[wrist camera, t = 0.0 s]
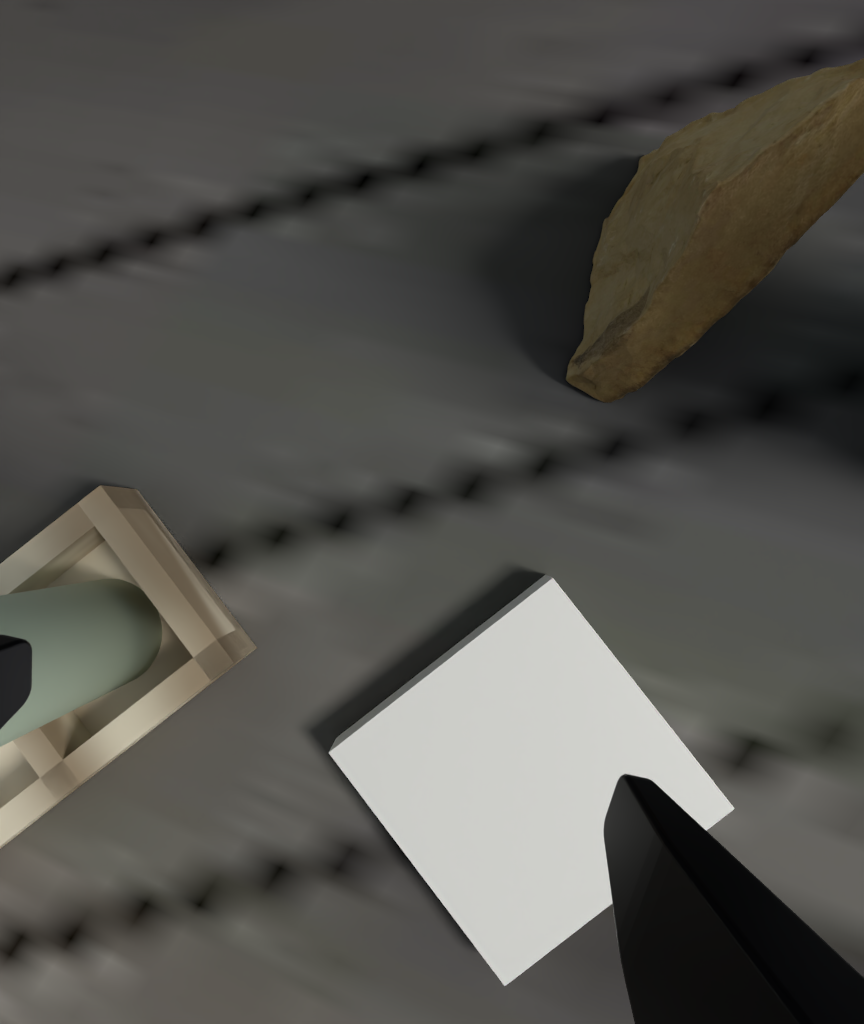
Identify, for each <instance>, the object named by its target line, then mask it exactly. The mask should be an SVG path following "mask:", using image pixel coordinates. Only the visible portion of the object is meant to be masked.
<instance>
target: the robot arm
mask: <svg viewBox="0 0 864 1024" xmlns="http://www.w3.org/2000/svg"><path fill="white" fill-rule="evenodd" d="M31 689H32V647H31V644H30V643H29V642H28V641H27V640H25V639H21V638H17V637H12V636H8V635H1V634H0V729H1V728H2V727H3V726H4V725H5V724H6V723H7V722H8V721H9V720H10V719H11V718H12V717H13V716H14V715H15V714H16V713H17V711H18V710H19V709H20V708H21V707H22V706H23V705H24V704H25V702H26V701H27V699H28V697H29V695H30V692H31ZM603 833H604V844H605V851H606V858H607V866H608V873H609V881H610V888H611V895H612V903H613V910H614V918H615V925H616V932H617V939H618V946H619V952H620V958H621V963H622V968H623V973H624V978H625V982H626V987H627V991H628V995H629V1000H630V1004H631V1009H632V1013H633V1017H634V1022H635V1024H864V977H863V976H861V975H860V974H859V973H858V972H857V971H856V970H855V969H854V968H853V967H852V966H851V965H850V964H849V963H847V962H846V961H845V960H844V959H843V958H842V957H841V956H840V955H839V954H838V953H837V952H836V951H835V950H834V949H832V948H831V947H830V946H829V945H828V944H827V943H826V942H825V941H824V940H823V939H822V938H821V937H820V936H819V935H817V934H816V933H815V932H814V931H813V930H812V929H811V928H810V927H809V926H808V925H807V924H806V923H805V922H804V921H802V920H801V919H800V918H799V917H798V916H797V915H796V914H795V913H794V912H793V911H792V910H791V909H790V908H789V907H787V906H786V905H785V904H784V903H783V902H782V901H781V900H780V899H779V898H778V897H777V896H776V895H775V894H773V893H772V892H771V891H770V890H769V889H768V888H767V887H766V886H765V885H764V884H763V883H762V882H761V881H760V880H758V879H757V878H756V877H755V876H754V875H753V874H752V873H751V872H750V871H749V870H748V869H747V868H746V867H745V866H743V865H742V864H741V863H740V862H739V861H738V860H737V859H736V858H735V857H734V856H733V855H732V854H731V853H730V852H728V851H727V850H726V849H725V848H724V847H723V846H722V845H721V844H720V843H719V842H718V841H717V840H716V839H715V838H713V837H712V836H711V835H710V834H709V833H708V832H707V831H706V830H705V829H704V828H703V827H702V826H701V825H699V824H698V823H697V822H696V821H695V820H694V819H693V818H692V817H691V816H690V815H689V814H688V813H687V812H686V811H684V810H683V809H682V808H681V807H680V806H679V805H678V804H677V803H676V802H675V801H674V800H673V799H672V798H671V797H669V796H668V795H667V794H666V793H665V792H664V791H663V790H662V789H661V788H660V787H659V786H658V785H657V784H656V783H654V782H653V781H652V780H650V779H648V778H643V777H639V776H634V775H630V774H624V775H621V776H620V778H619V779H618V781H617V783H616V786H615V789H614V792H613V795H612V798H611V801H610V804H609V807H608V810H607V813H606V817H605V820H604V829H603Z"/></svg>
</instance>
